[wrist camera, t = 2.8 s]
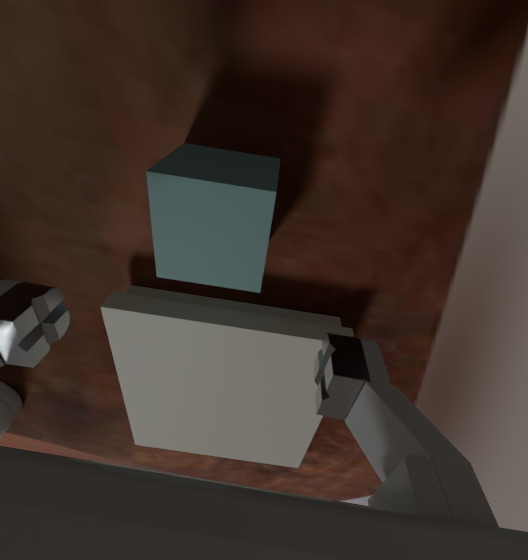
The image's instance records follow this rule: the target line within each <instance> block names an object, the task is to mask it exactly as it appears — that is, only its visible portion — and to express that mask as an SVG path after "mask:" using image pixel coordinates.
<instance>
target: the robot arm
mask: <svg viewBox="0 0 528 560" xmlns="http://www.w3.org/2000/svg"><path fill="white" fill-rule="evenodd" d="M63 300H64V296H63V294H62V291H61V290H60V289H57V288H54V287H49V286H44V285H38V284H33V283H28V282H21V281H16V280H11V279H5V280H0V367H2V366H4V364H10V365H17V366H25V367H32V368H34V367H35V366H36V365H37V364H38V363H39V362H40V360H41V359H42V358H43V357H44V356H45V355H46V354H47V353H48V352H49V350H50V343H52V342H55V341H57V340H59V339H60V338H61V337H62V336H63V335H64V333H65V332H66V330H67V328H68V325H69V320H70V315H69V312H68V310H67V309H66V308H65V307H64V306H63V305H62V304H61V303H62V301H63ZM314 381H315V383H316V384H317V385H318V388H317V390H316V393H315V401H316V414H317V415H322V416H328V417H333V418H338V419H343V420H345V423H346V424H347V426H348V428H349V429H350V431H351V432H352V434H353V436H354V437H355V439H356V441H357V442H358V444H359V445H360V447H361V449H362V450H363V452H364V454H365V455H366V457H367V458H368V460H369V462H370V463H371V465H372V466H373V468H374V470H375V471H376V473H377V475H378V476H379V478H380V479H381V481H382V484H381V485H380V487H379V488H378V489H377V490H376V491H375V492H374V494H373V495H372V496H371V497H370V498H369V499H368V504H369V506H364V505H358V504H352V503H346V502H340V501H334V500H328V499H322V498H315V497H309V496H303V495H297V494H291V493H285V492H279V491H273V490H266V489H260V488H254V487H248V486H242V485H236V484H230V483H224V482H218V481H211V480H205V479H199V478H193V477H187V476H181V475H175V474H168V473H163V472H156V471H150V470H144V469H138V468H132V467H125V466H120V465H113V464H107V463H101V462H95V461H89V460H83V459H77V458H71V457H65V456H59V455H52V454H46V453H39V452H34V451H28V450H22V449H15V448H10V447H3V446H0V560H528V532H524V531H517V530H512V529H505V528H500V527H499V526H498V524H497V522H496V519H495V517H494V515H493V513H492V510H491V508H490V506H489V504H488V502H487V499H486V497H485V495H484V492H483V491H482V488H481V486H480V484H479V481H478V479H477V477H476V475H475V472H474V470H473V468H472V466H471V463H470V462H469V461H468V460H467V459H466V458H465V457H464V456H463V455H462V454H461V453H460V452H459V451H458V450H457V449H456V448H455V447H454V446H453V445H452V444H451V443H450V442H449V441H448V439H447V438H446V437H444V435H443V434H442V433H441V432H440V431H439V430H438V429H437V428H436V427H435V426H434V425H433V424H432V423H431V422H430V421H429V420H428V419H427V418H426V417H425V416H424V415H423V414H422V413H421V412H420V411H419V410H418V409H417V408H416V407H415V406H414V405H413V404H412V402H411V401H410V400H409V399H408V398H407V397H406V396H405V395H404V394H403V393H402V392H401V391H400V390H399V389H398V388H397V387H396V386H391V384H390V381H389V378H388V375H387V372H386V368H385V365H384V362H383V359H382V356H381V352H380V349H379V346H378V343H377V342H376V341H375V340H371V339H364V338H357V337H350V336H344V335H338V334H331V333H325V335H324V337H323V339H322V349H321V350H320V351H318V353H317V356H316V360H315V366H314Z"/></svg>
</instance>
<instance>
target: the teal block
mask: <svg viewBox="0 0 528 560" xmlns="http://www.w3.org/2000/svg"><path fill="white" fill-rule="evenodd" d="M280 160H281V159H280V158H274V157H268V156H261V155H255V154H249V153H243V152H237V151H231V150H224V149H218V148H212V147H206V146H200V145H193V144H187V143H184V144H182V145H181V146H180V147H178V148H177V149H175V150H174V151H173V152H171V153H170V154H169V155H167V156H166V157H165V158H163V159H162V160H161V161H159V162H158V163H157V164H155V165H154V166H153V167H151V168H150V169H149V170H147V171H146V174H147V184H148V194H149V204H150V214H151V224H152V234H153V245H154V255H155V265H156V275H157V277H160V278H167V279H173V280H180V281H186V282H193V283H199V284H206V285H212V286H219V287H225V288H232V289H238V290H245V291H251V292H258V293H260V291H261V284H262V278H263V272H264V266H265V260H266V254H267V248H268V241H269V235H270V229H271V223H272V217H273V211H274V205H275V198H276V192H277V184H278V176H279V168H280Z"/></svg>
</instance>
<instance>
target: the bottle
mask: <svg viewBox="0 0 528 560" xmlns="http://www.w3.org/2000/svg"><path fill="white" fill-rule="evenodd" d="M22 406H23V403H22V400H21V397H20V395H19V394H18V393H17V392H16V391H15V390H14V389H13V388H12V387H10V386H9V385H7V384H6V383H4V382H3V381H1V380H0V437H1V436H2V435H3V434H4V433H5V432H6V430H7V429H8V428H9V426H10V425H11V423H12V422H13V419H14V418H15V417H16V416H17V414H18V413H19V412H20V410H21V409H22Z"/></svg>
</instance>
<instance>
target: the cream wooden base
mask: <svg viewBox="0 0 528 560" xmlns="http://www.w3.org/2000/svg"><path fill="white" fill-rule="evenodd" d="M101 311H102V315H103V319H104V323H105V326H106V330H107V334H108V338H109V342H110V346H111V350H112V354H113V358H114V362H115V366H116V370H117V374H118V378H119V382H120V386H121V390H122V394H123V398H124V402H125V406H126V410H127V413H128V417H129V421H130V425H131V429H132V433H133V437H134V441H135V445H141V446H148V447H155V448H162V449H169V450H176V451H183V452H190V453H197V454H204V455H211V456H218V457H224V458H231V459H238V460H245V461H252V462H259V463H266V464H273V465H280V466H287V467H294V468H298V467H299V465H300V463H301V461H302V459H303V457H304V455H305V453H306V451H307V448H308V446H309V444H310V442H311V440H312V438H313V436H314V434H315V432H316V430H317V427H318V425H319V423H320V421H321V419H322V417H323V416H322V415H317V414H316V401H315V393H316V390H317V388H318V385H317V384H316V383H315V381H314V366H315V360H316V356H317V353H318V351H320V350H321V349H322V339H323V337H324V335H325V333H331V334H338V335H344V336H350V337H354V333H353V329H352V328H346V327H342V325H341V319H340V317H335V316H328V315H322V314H315V313H309V312H302V311H296V310H289V309H283V308H276V307H270V306H263V305H257V304H250V303H244V302H237V301H231V300H224V299H218V298H211V297H205V296H198V295H192V294H185V293H179V292H172V291H166V290H159V289H153V288H146V287H140V286H133V285H131V286H130V287H129V288H128V290H127V291H126V293H125V294H124V293H118V292H112V293H111V294H110V295H109V297H108V298H107V299H106V300H105V302H104V303H103V304H102V306H101Z"/></svg>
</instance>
